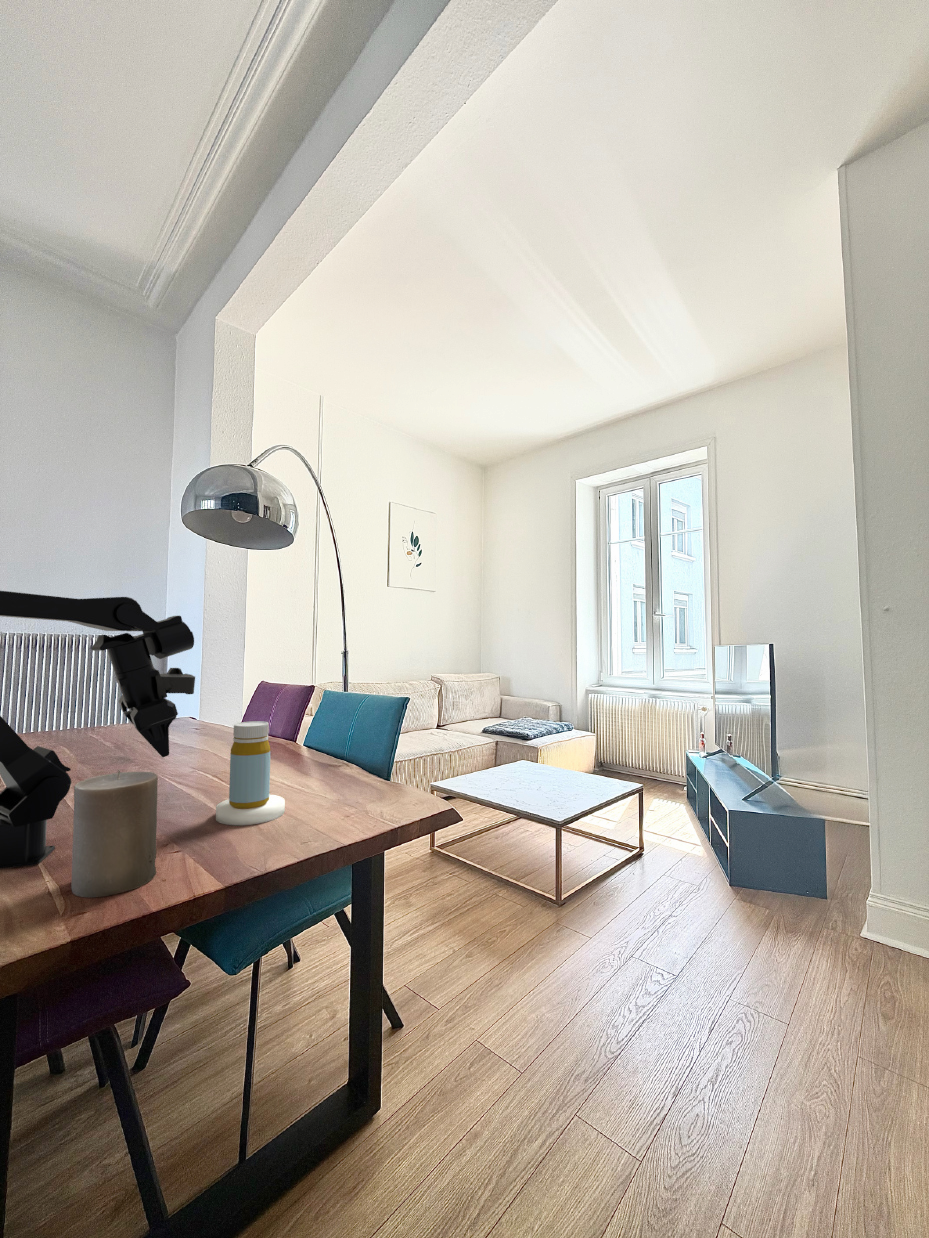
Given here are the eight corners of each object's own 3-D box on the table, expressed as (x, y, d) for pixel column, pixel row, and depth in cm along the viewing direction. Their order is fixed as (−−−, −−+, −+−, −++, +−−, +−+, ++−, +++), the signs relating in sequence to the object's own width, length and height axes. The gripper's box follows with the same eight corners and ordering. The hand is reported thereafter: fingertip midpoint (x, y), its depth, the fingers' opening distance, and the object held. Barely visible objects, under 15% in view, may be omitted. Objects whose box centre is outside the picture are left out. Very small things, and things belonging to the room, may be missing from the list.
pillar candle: (172, 870, 75) (175, 764, 76) (109, 903, 65) (113, 780, 66) (118, 863, 77) (121, 760, 78) (50, 893, 68) (54, 775, 69)
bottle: (277, 801, 101) (279, 722, 101) (246, 812, 94) (248, 727, 95) (251, 796, 104) (254, 719, 104) (220, 806, 98) (223, 724, 98)
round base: (284, 821, 96) (284, 810, 96) (211, 828, 92) (212, 816, 92) (284, 802, 107) (284, 792, 107) (219, 807, 103) (219, 797, 103)
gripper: (196, 658, 89) (221, 743, 92) (172, 649, 103) (195, 722, 107) (121, 680, 82) (151, 771, 85) (107, 667, 97) (133, 745, 100)
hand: (160, 749), depth 95 cm, fingers open, 9 cm apart
